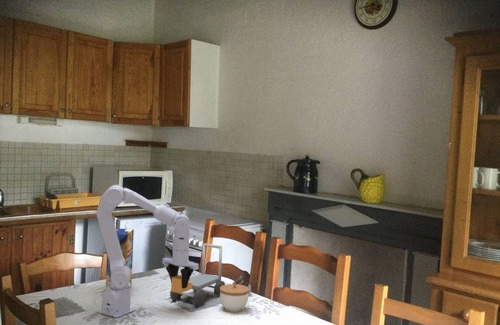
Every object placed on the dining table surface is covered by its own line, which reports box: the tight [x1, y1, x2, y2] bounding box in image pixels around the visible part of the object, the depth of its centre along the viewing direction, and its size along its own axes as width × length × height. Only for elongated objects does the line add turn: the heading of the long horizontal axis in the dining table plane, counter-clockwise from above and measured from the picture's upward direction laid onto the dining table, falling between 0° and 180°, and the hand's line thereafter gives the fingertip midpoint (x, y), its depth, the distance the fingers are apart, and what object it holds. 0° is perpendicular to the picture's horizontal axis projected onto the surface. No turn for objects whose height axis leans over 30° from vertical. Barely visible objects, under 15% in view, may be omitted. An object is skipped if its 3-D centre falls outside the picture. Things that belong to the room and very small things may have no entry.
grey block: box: [231, 274, 252, 296], centre depth 190 cm, size 10×7×12 cm
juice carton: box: [105, 227, 135, 291], centre depth 186 cm, size 12×8×24 cm, turn 2°
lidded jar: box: [219, 282, 250, 313], centre depth 173 cm, size 11×11×9 cm
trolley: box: [169, 242, 226, 307], centre depth 183 cm, size 20×12×20 cm, turn 151°
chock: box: [170, 274, 193, 293], centre depth 170 cm, size 7×4×5 cm, turn 152°
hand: (179, 286), depth 169 cm, fingers closed on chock, 4 cm apart
